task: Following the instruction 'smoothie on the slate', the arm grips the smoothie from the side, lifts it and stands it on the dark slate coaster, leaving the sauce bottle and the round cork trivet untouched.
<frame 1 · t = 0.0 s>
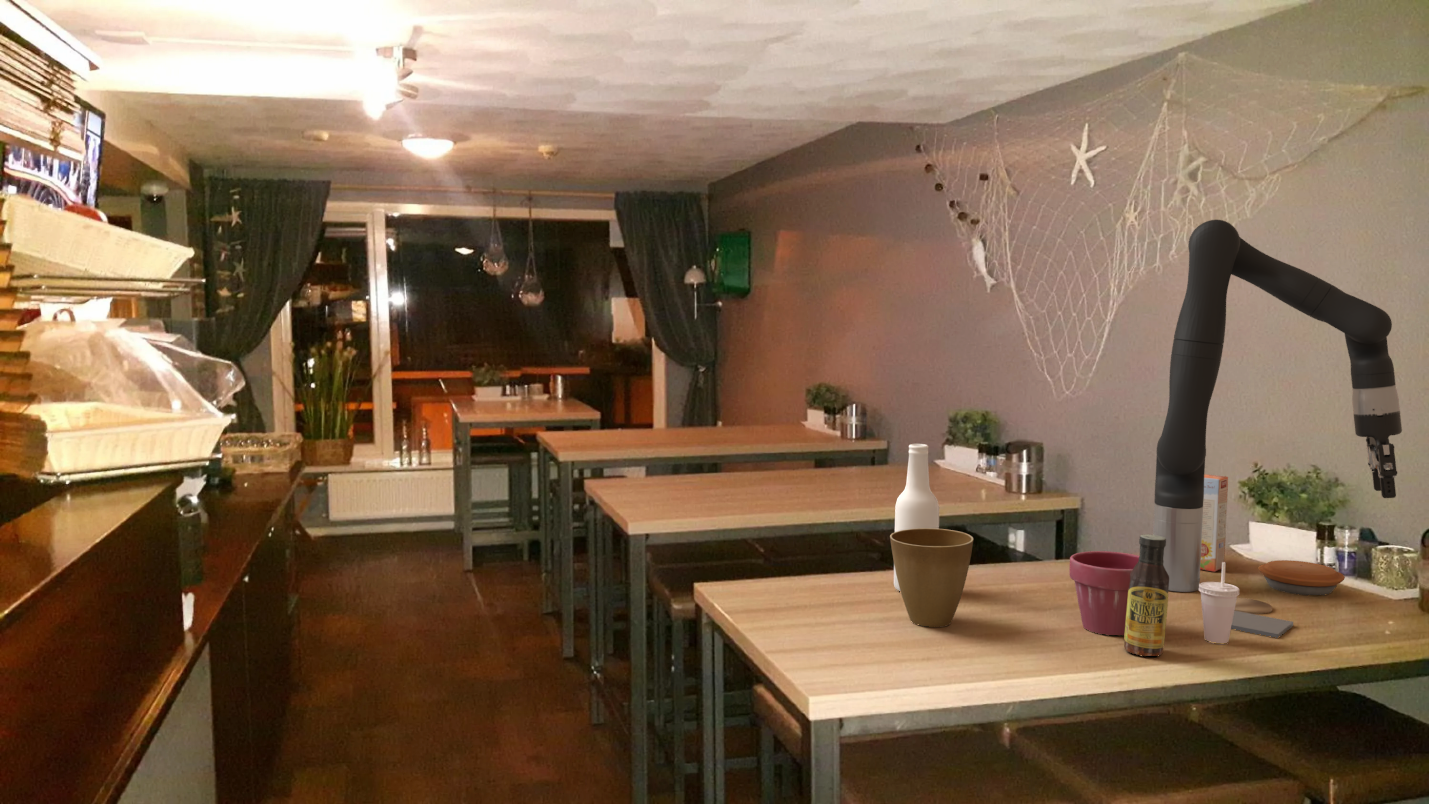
hand: (1384, 494, 197), 22 cm above the table, tool pointing down, fingers open, 8 cm apart
plant pot: (929, 622, 189), on the table
slate coaster: (1255, 626, 187), on the table
cork trivet: (1245, 606, 199), on the table
smoothie: (1216, 641, 178), on the table
pie: (1299, 589, 213), on the table
plant pot 2: (1108, 629, 185), on the table
sauce bottle: (1144, 653, 172), on the table
cracker box: (1187, 565, 232), on the table
alcohol: (915, 591, 210), on the table
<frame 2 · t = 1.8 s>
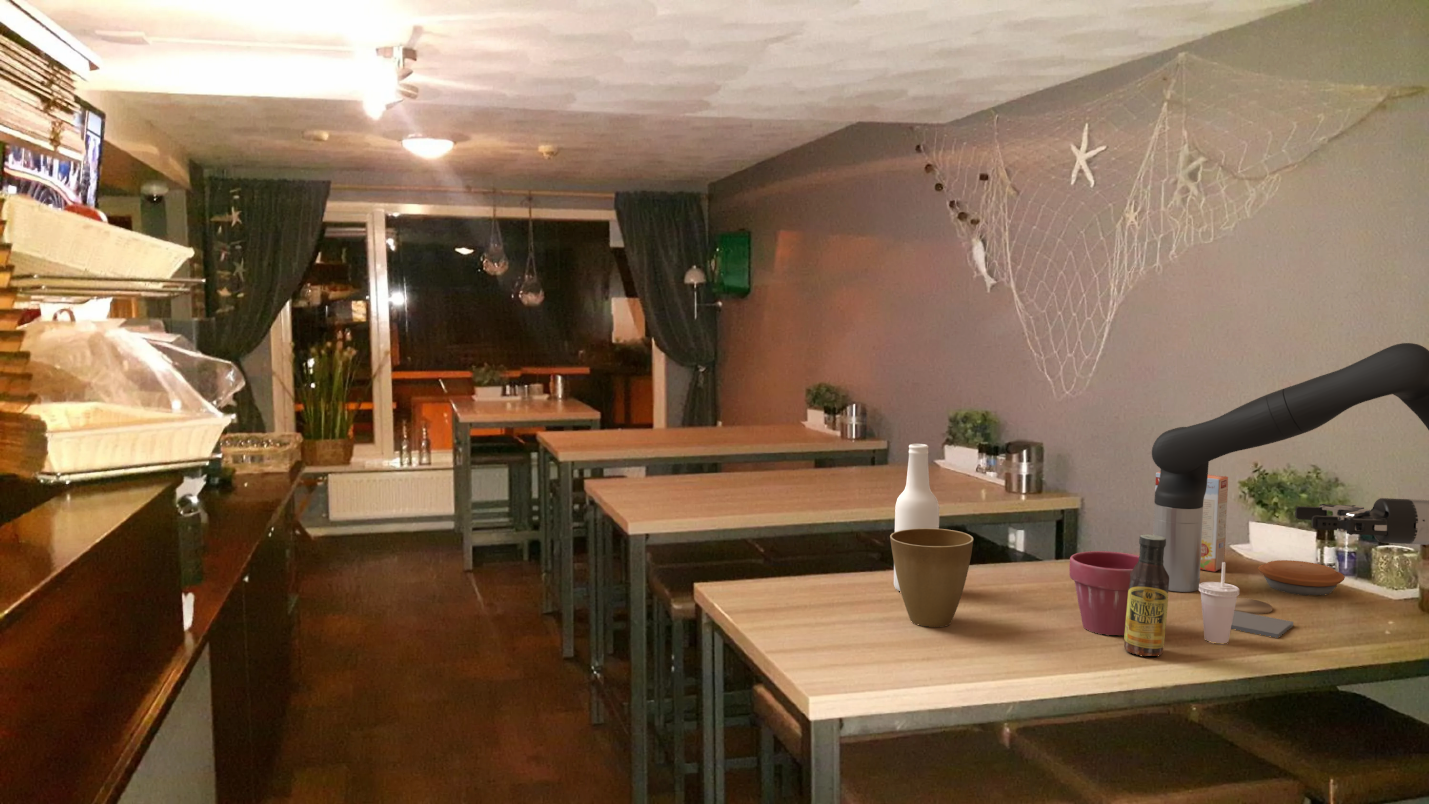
hand: (1304, 517, 176), 22 cm above the table, tool horizontal, fingers open, 8 cm apart
nothing on the table moved.
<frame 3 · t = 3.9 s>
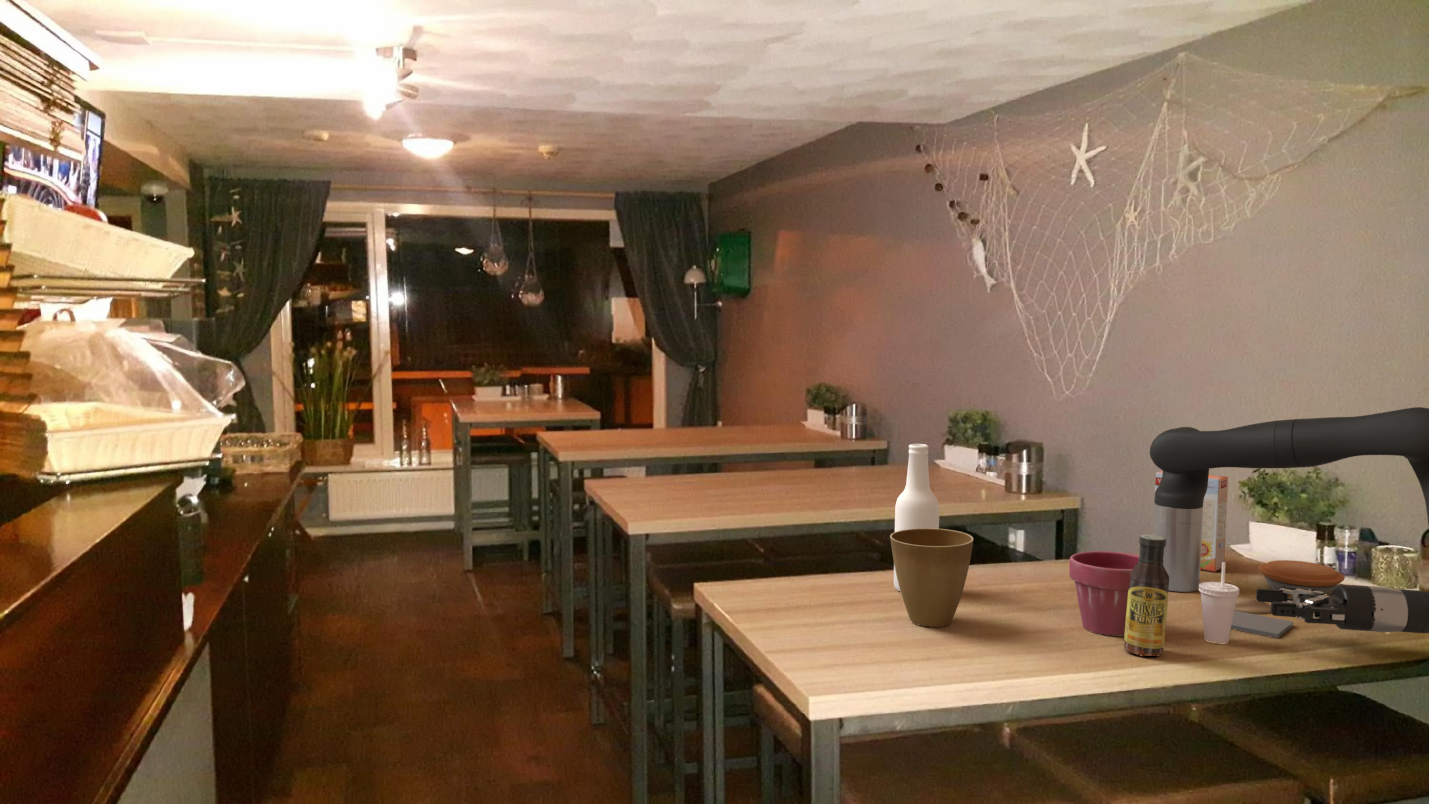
hand: (1263, 601, 176), 7 cm above the table, tool horizontal, fingers open, 8 cm apart
nothing on the table moved.
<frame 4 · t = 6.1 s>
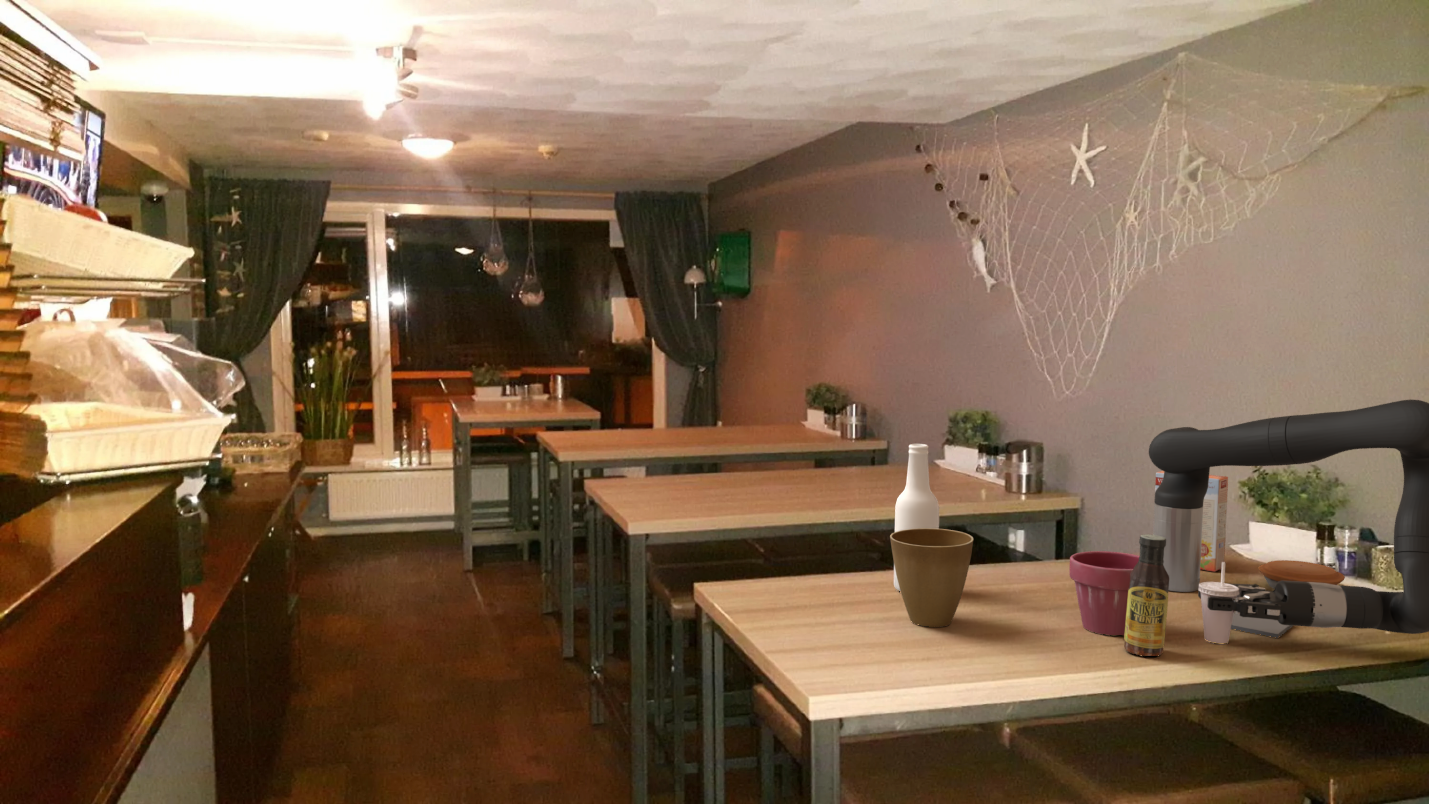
hand: (1203, 597, 178), 8 cm above the table, tool horizontal, fingers closed on smoothie, 6 cm apart
smoothie: (1216, 641, 178), on the table, touching gripper
everything else where it was.
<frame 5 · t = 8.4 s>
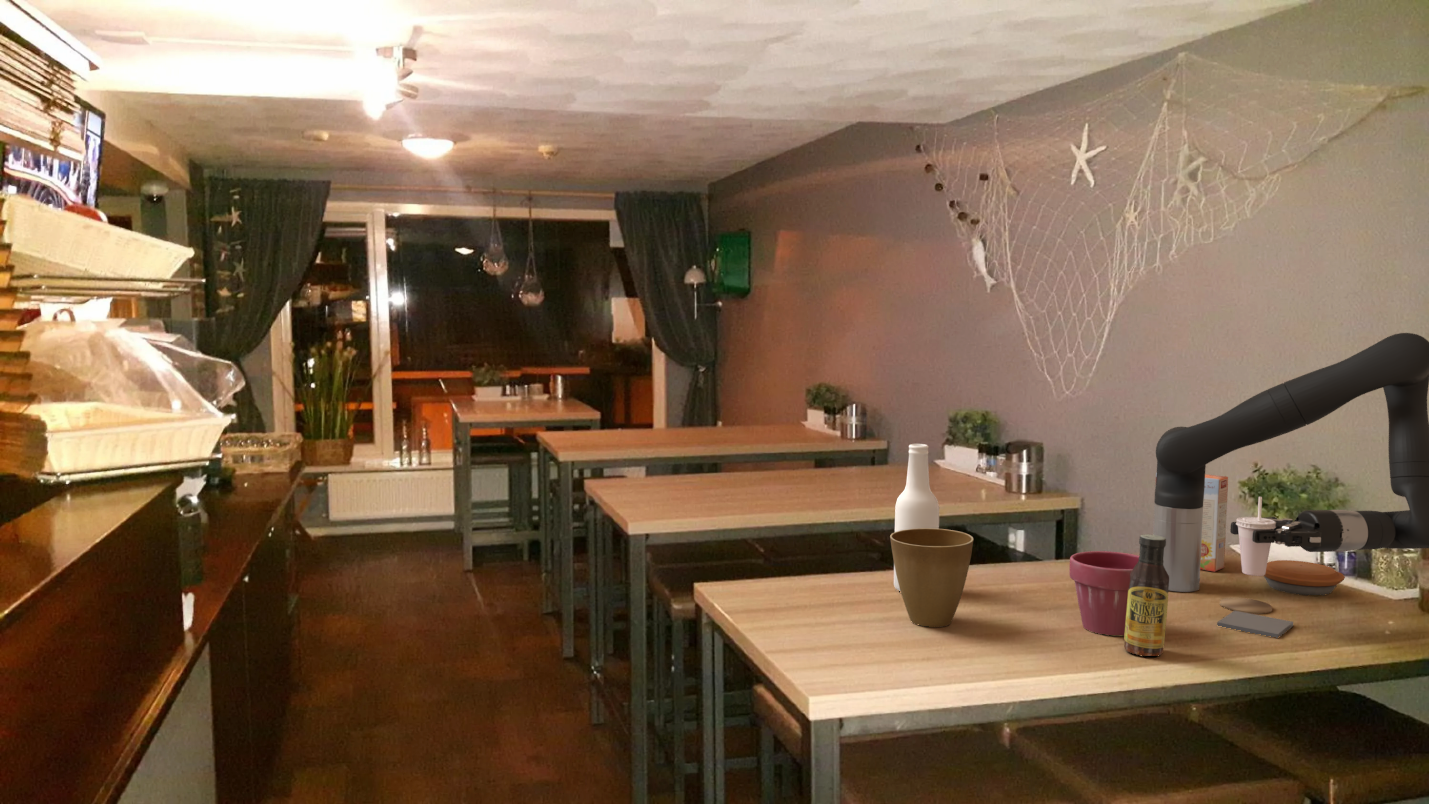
hand: (1242, 532, 185), 18 cm above the table, tool horizontal, fingers closed on smoothie, 6 cm apart
smoothie: (1253, 574, 185), point 10 cm above the table, touching gripper
everything else where it was.
when the fingers open (9 cm above the table, at t = 10.7 s): smoothie stays where it is, resting on slate coaster.
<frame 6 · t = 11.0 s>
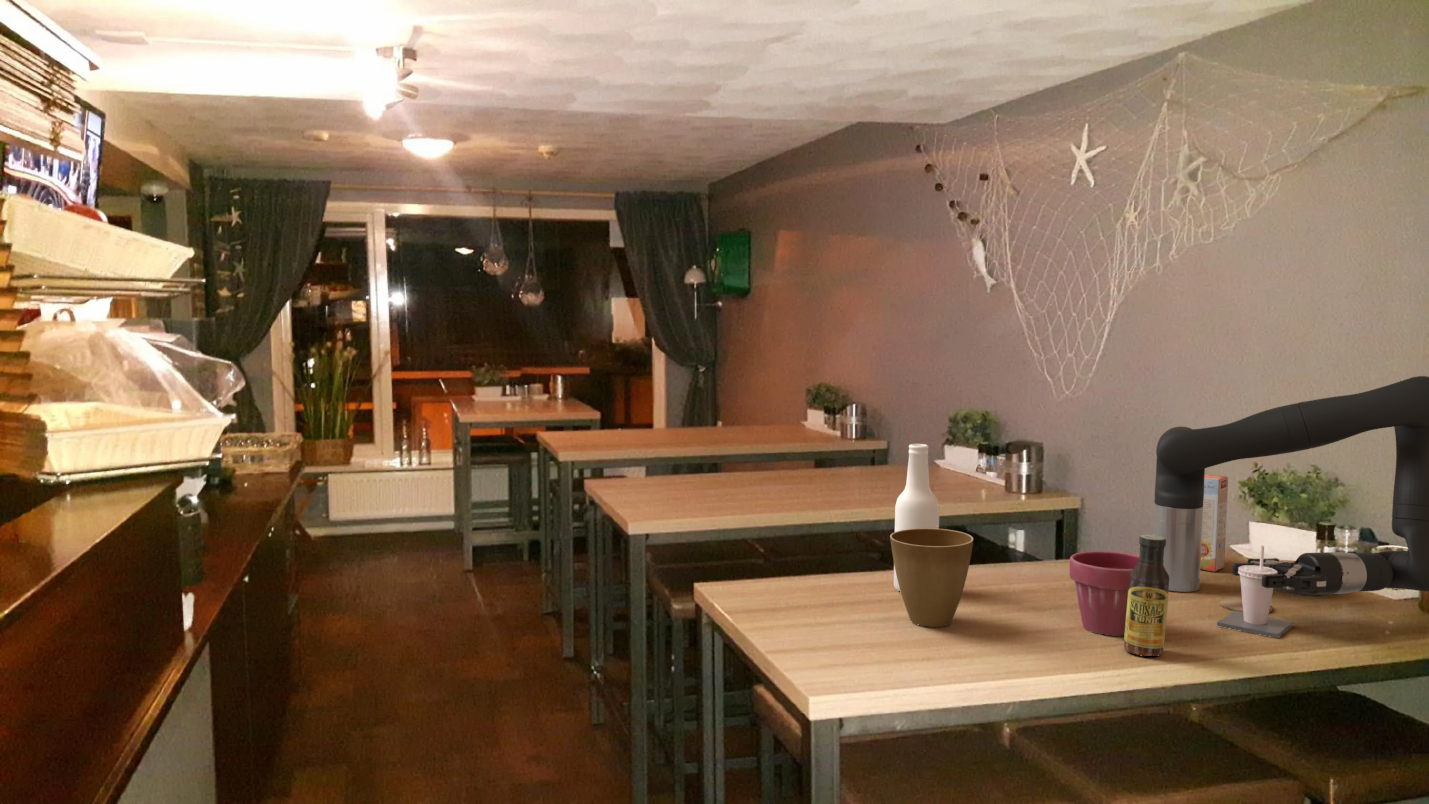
hand: (1248, 575, 186), 10 cm above the table, tool horizontal, fingers open, 8 cm apart
smoothie: (1255, 622, 187), point 1 cm above the table, touching slate coaster
everything else where it was.
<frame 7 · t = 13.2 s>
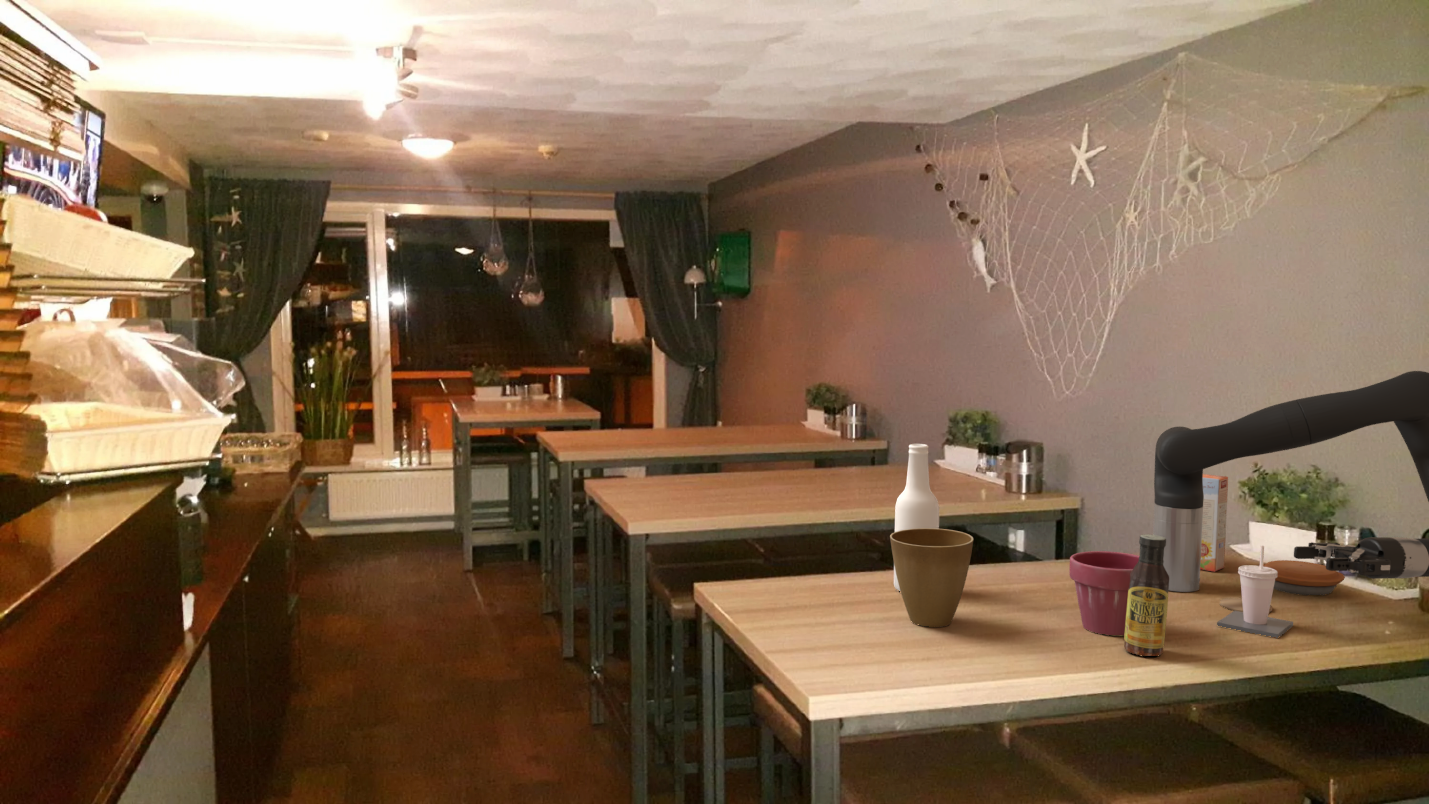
hand: (1311, 558, 187), 12 cm above the table, tool horizontal, fingers open, 8 cm apart
nothing on the table moved.
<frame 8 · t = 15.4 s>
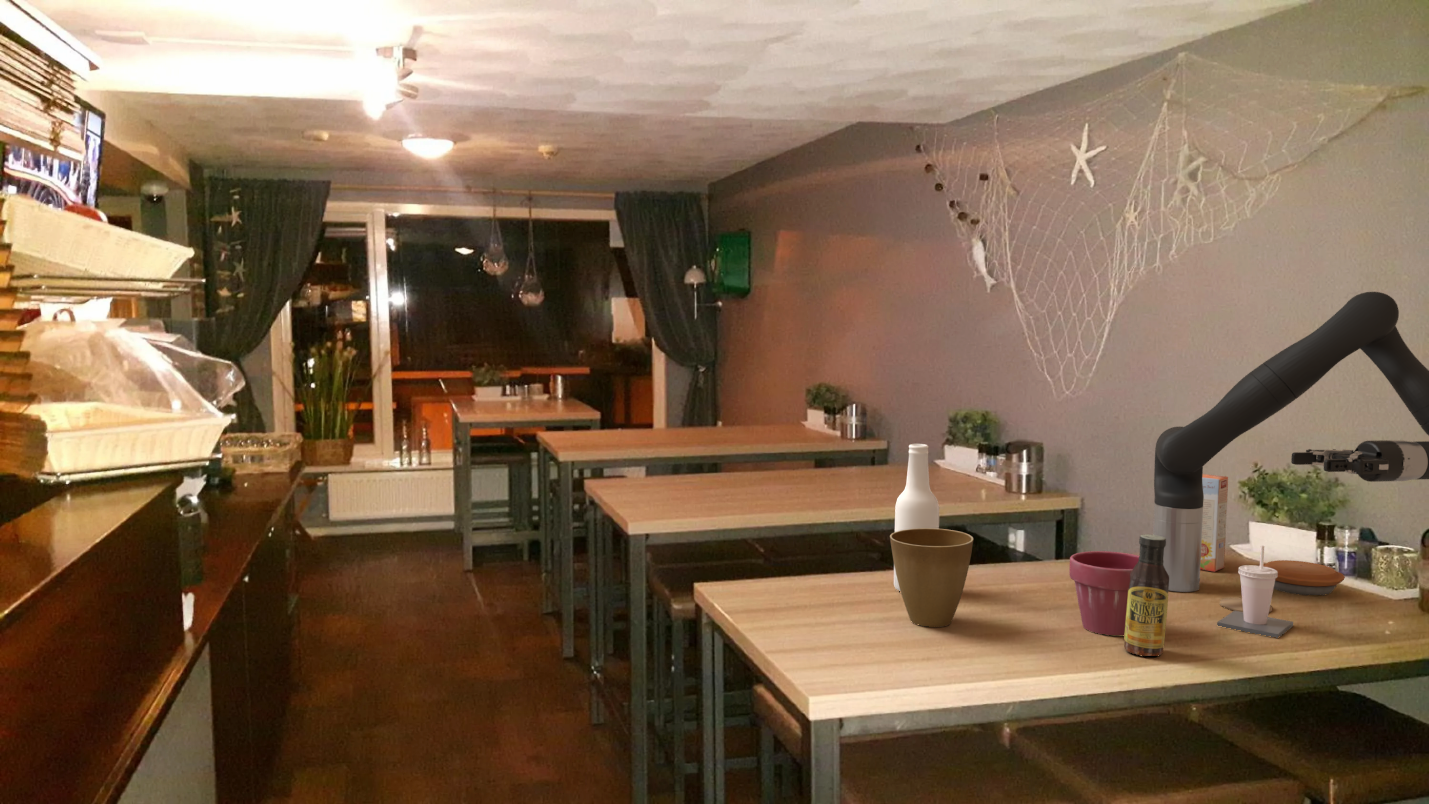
hand: (1308, 461, 186), 30 cm above the table, tool horizontal, fingers open, 8 cm apart
nothing on the table moved.
at the end: smoothie inside the target area on the slate coaster (0.4 cm from its centre), point 0.6 cm above the slate coaster's base; smoothie tilted 0°; sauce bottle moved 0.2 cm from its start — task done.
